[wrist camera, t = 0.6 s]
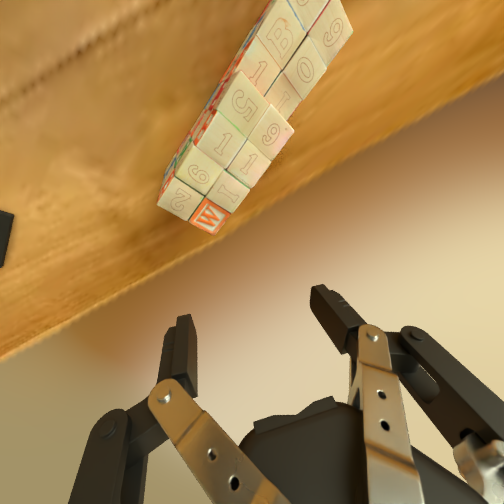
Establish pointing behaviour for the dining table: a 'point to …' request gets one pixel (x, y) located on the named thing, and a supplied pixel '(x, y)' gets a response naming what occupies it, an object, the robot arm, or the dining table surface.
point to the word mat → (4, 233)
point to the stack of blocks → (252, 110)
